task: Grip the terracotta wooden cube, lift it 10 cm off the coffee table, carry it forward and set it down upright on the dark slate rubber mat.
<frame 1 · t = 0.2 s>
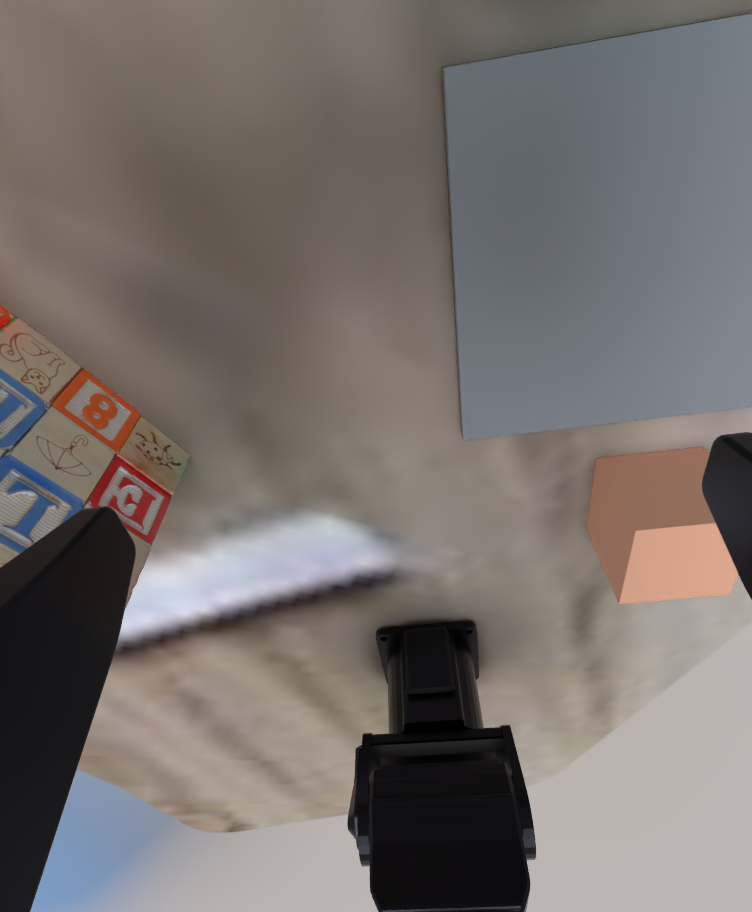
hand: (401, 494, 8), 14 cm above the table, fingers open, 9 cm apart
slate mat: (638, 262, 20), on the table
terracotta cube: (639, 489, 27), on the table
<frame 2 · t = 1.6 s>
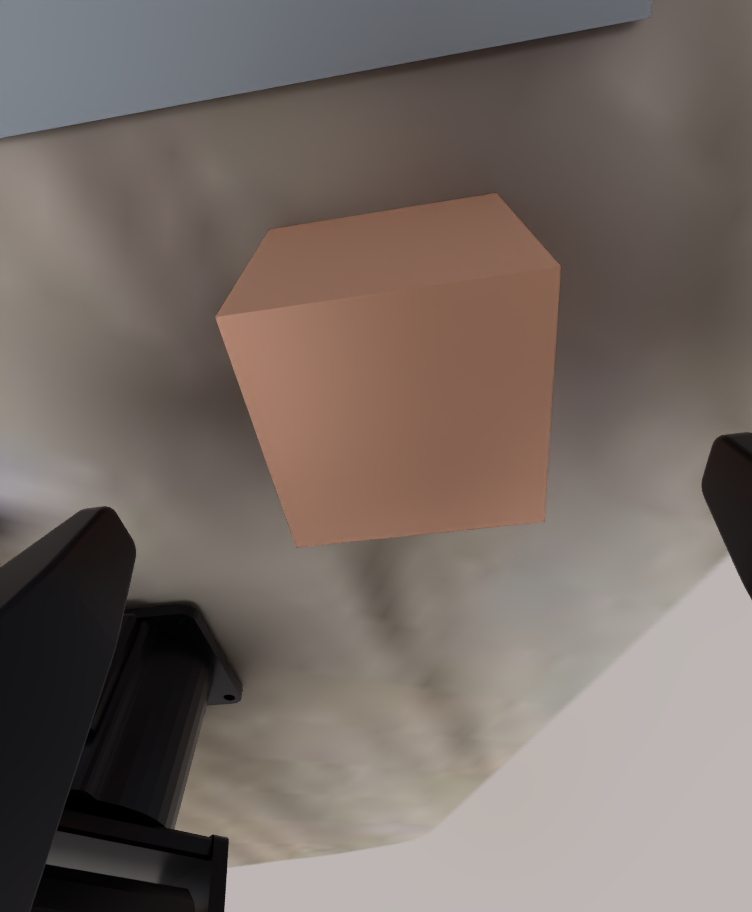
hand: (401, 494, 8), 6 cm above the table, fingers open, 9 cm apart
terracotta cube: (394, 318, 13), on the table
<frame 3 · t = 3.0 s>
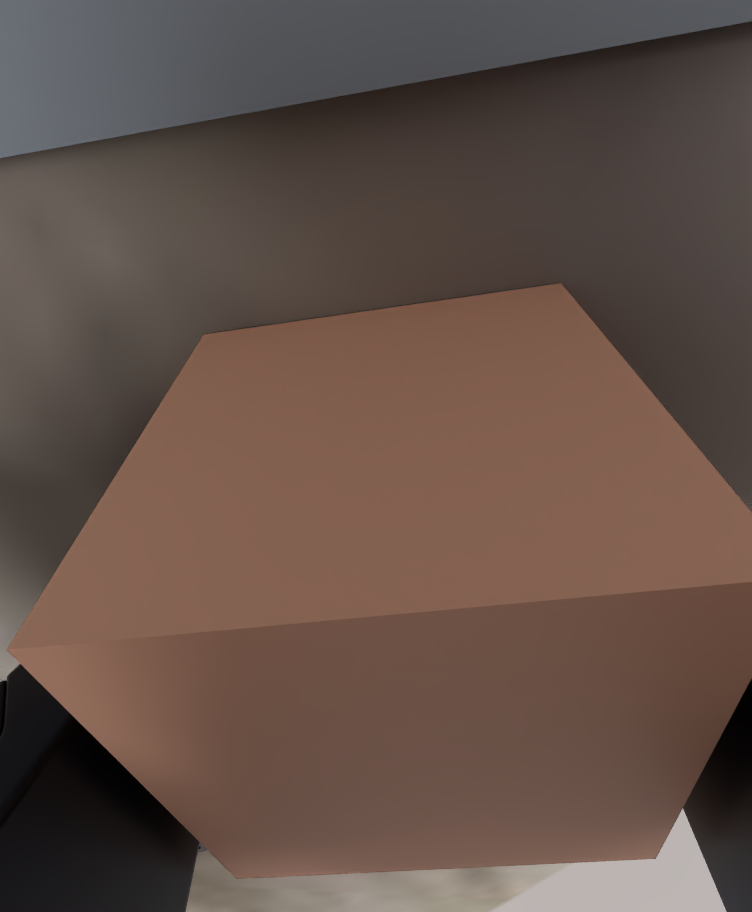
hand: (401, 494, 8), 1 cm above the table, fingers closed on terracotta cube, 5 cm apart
terracotta cube: (398, 452, 9), on the table, touching gripper
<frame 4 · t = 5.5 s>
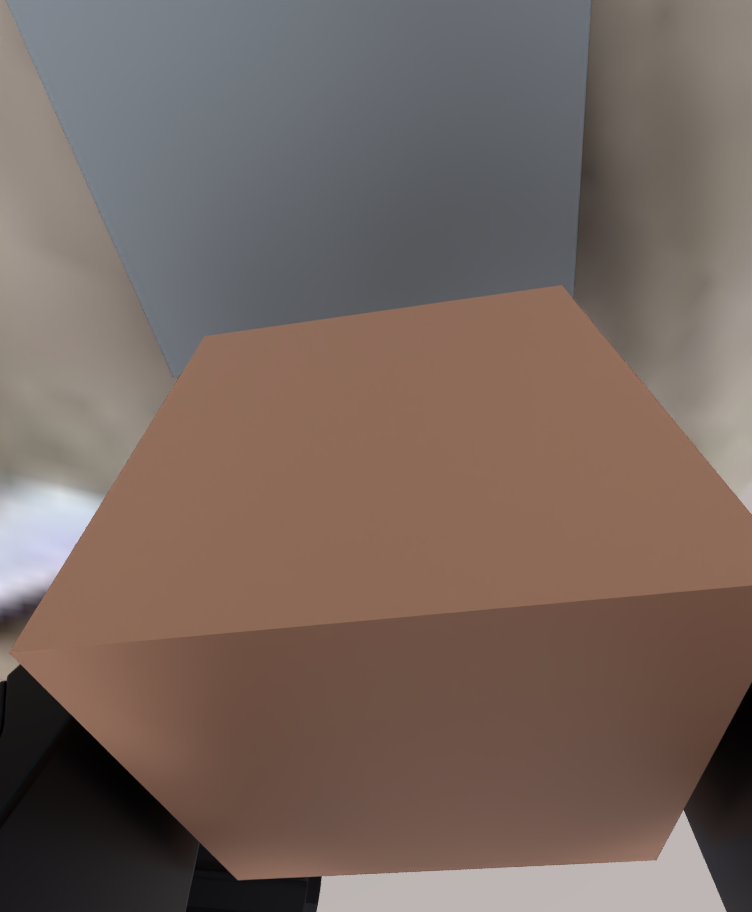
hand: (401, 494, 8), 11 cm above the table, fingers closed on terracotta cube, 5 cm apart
slate mat: (321, 104, 14), on the table
terracotta cube: (399, 453, 9), point 10 cm above the table, touching gripper
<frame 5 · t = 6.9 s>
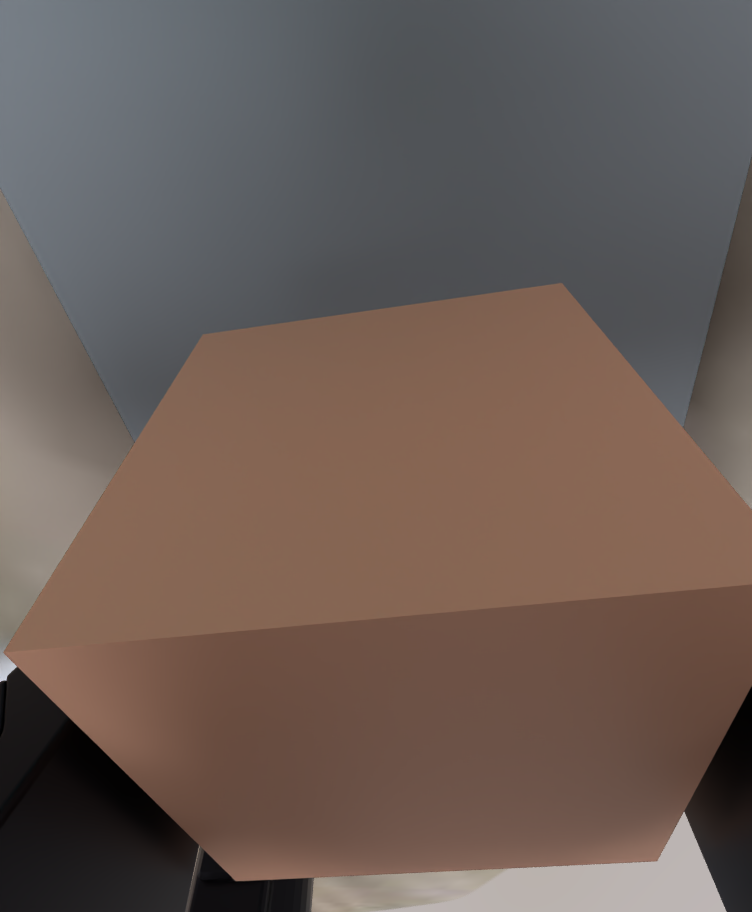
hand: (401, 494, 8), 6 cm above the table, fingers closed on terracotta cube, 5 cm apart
slate mat: (392, 331, 12), on the table
terracotta cube: (398, 452, 9), point 5 cm above the table, touching gripper
when the fingers open (3 cm above the table, at t = 8.2 s): terracotta cube drops 1 cm, resting on slate mat.
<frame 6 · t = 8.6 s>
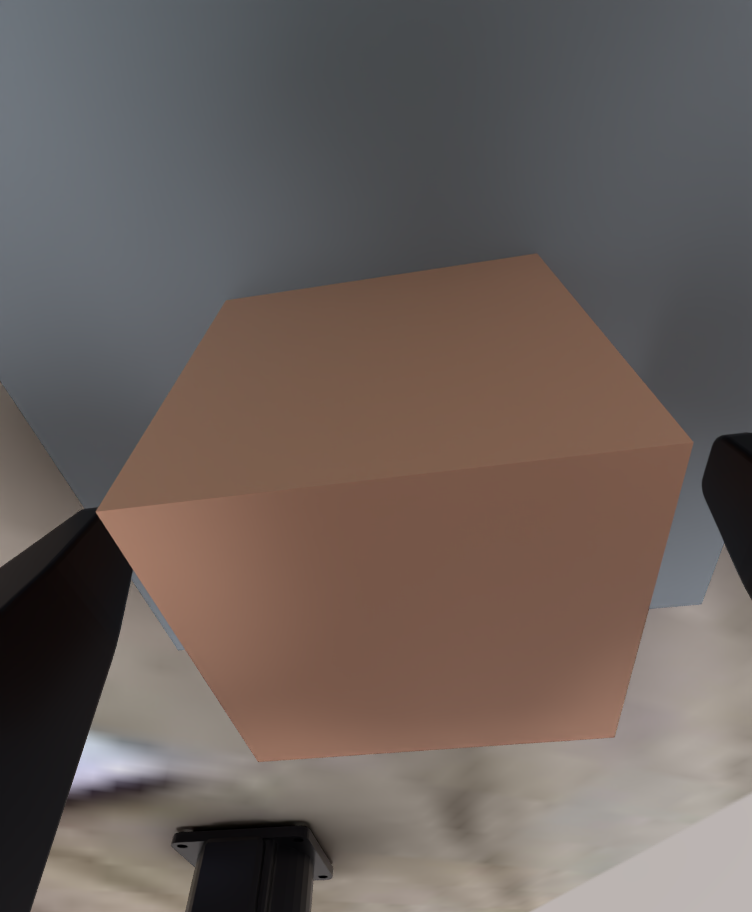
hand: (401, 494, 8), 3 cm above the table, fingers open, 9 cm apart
slate mat: (395, 391, 10), on the table
terracotta cube: (396, 409, 10), point 1 cm above the table, touching slate mat
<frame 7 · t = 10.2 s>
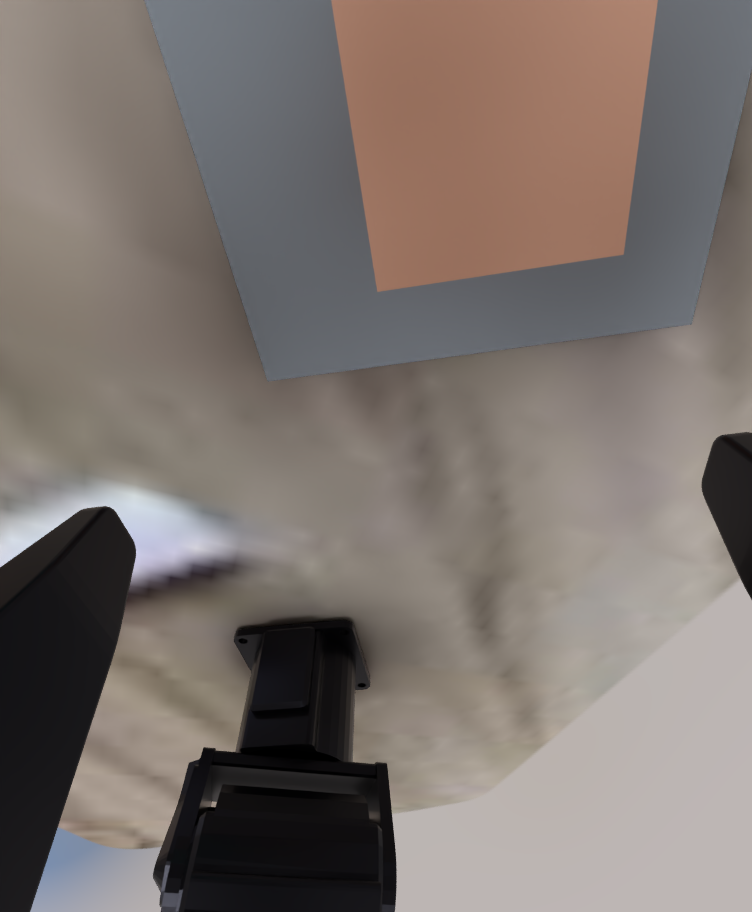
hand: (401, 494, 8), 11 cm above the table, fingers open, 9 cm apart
slate mat: (457, 101, 14), on the table
terracotta cube: (460, 105, 13), point 1 cm above the table, touching slate mat
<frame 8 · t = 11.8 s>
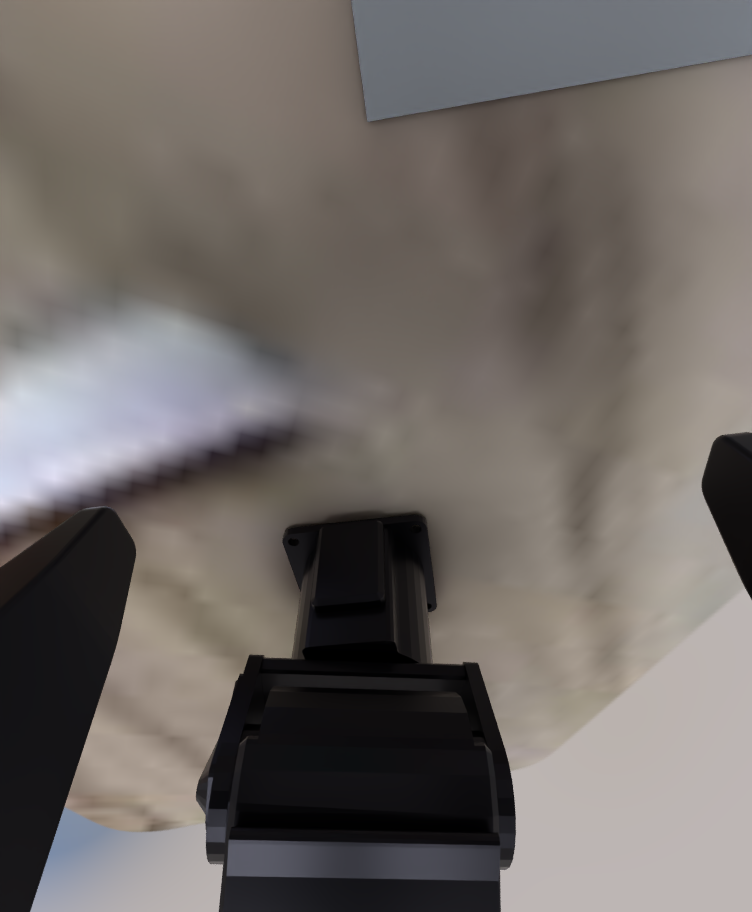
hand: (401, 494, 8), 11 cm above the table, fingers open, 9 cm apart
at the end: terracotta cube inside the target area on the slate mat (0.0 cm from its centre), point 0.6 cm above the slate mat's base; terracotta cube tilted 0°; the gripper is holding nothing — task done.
